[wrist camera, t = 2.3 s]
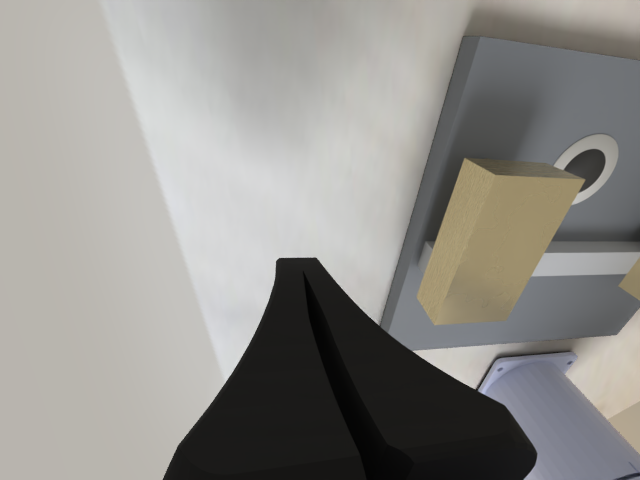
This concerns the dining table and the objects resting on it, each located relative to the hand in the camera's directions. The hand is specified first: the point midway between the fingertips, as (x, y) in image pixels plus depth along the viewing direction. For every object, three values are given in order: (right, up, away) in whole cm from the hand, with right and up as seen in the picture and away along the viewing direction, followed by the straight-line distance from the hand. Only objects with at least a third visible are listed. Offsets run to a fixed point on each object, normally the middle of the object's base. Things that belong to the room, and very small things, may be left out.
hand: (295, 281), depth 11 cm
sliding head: (+8, +2, +5) cm, 10 cm away
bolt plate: (+16, +2, +9) cm, 18 cm away
